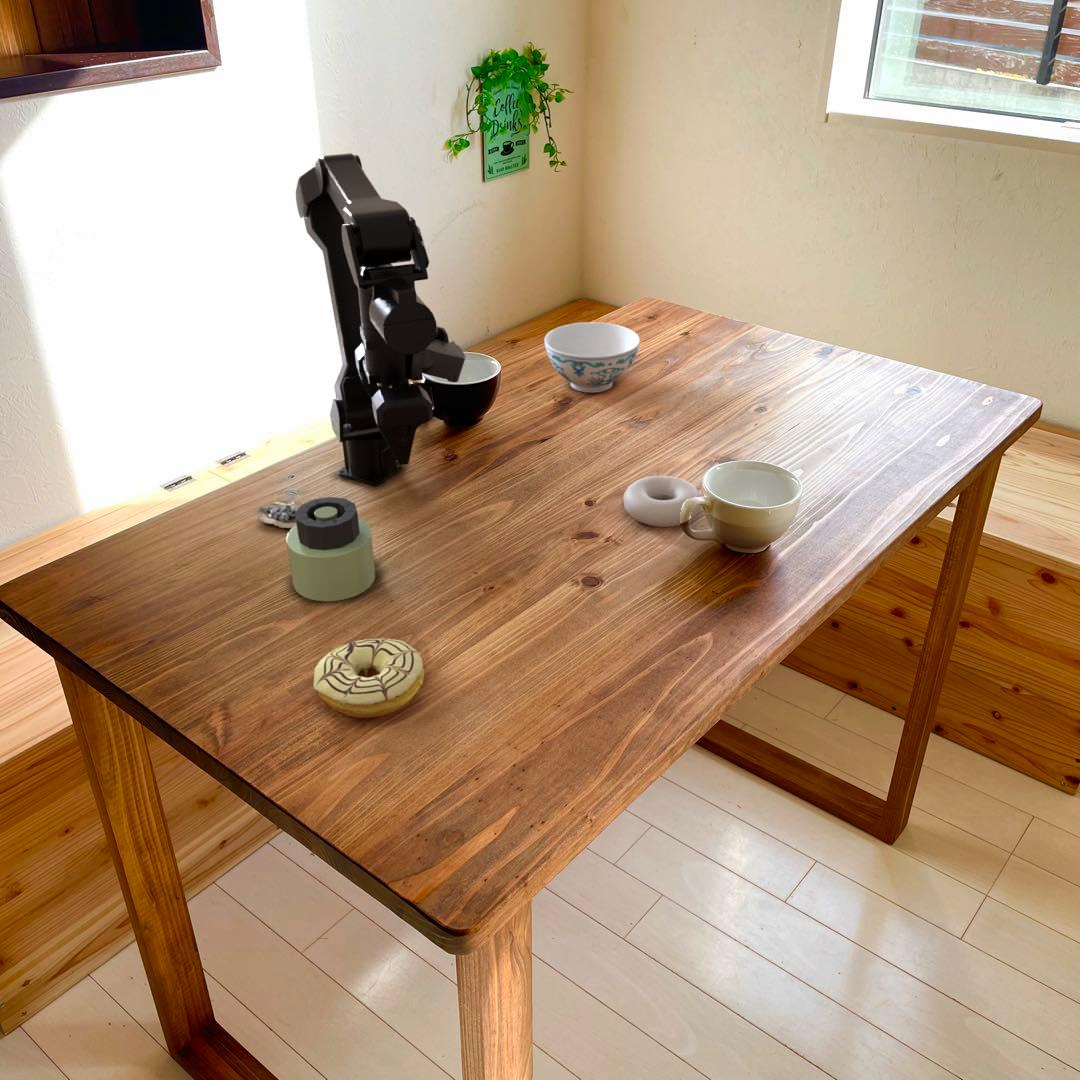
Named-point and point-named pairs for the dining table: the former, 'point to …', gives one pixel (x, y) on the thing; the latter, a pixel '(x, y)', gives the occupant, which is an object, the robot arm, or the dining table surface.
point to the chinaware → (591, 353)
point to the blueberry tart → (279, 514)
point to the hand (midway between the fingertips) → (397, 446)
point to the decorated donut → (369, 677)
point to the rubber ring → (327, 524)
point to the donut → (659, 500)
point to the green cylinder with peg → (332, 564)
